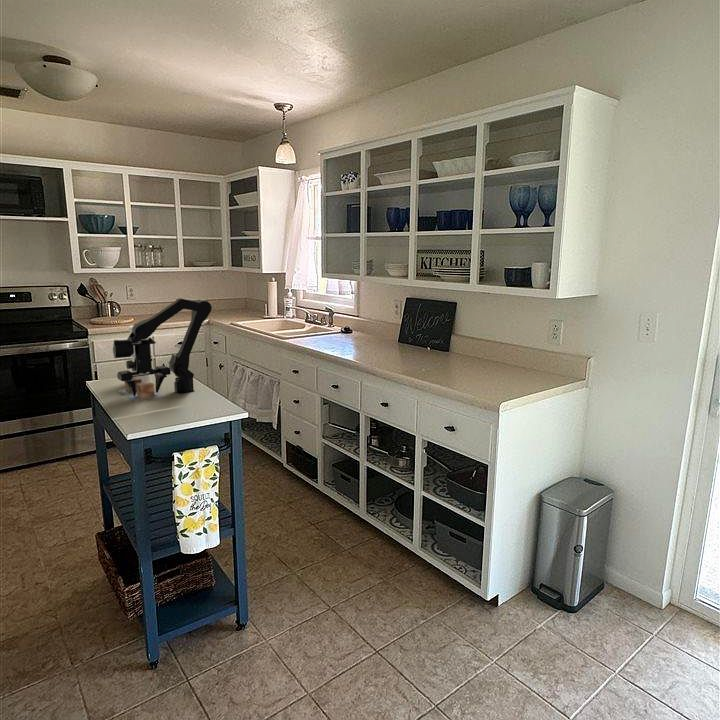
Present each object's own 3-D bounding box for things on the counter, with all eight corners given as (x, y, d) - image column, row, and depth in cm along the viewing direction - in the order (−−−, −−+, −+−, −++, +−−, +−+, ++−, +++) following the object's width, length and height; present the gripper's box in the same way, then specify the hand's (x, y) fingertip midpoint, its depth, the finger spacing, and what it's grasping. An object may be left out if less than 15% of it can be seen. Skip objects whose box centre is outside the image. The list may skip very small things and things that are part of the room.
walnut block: (137, 388, 218) (137, 376, 217) (142, 390, 214) (141, 379, 213) (125, 390, 215) (124, 378, 213) (129, 393, 211) (128, 380, 210)
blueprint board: (147, 387, 222) (147, 385, 222) (165, 397, 208) (164, 395, 208) (117, 392, 214) (117, 390, 214) (133, 402, 200) (133, 400, 200)
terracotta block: (150, 393, 210) (149, 381, 209) (154, 396, 207) (153, 384, 206) (137, 395, 207) (136, 383, 206) (141, 398, 203) (140, 386, 202)
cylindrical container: (143, 380, 234) (139, 324, 229) (154, 382, 231) (151, 325, 226) (129, 383, 228) (125, 326, 222) (141, 385, 224) (137, 327, 219)
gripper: (159, 349, 215) (161, 386, 219) (111, 355, 203) (114, 393, 207) (169, 354, 207) (172, 392, 211) (120, 359, 195) (123, 400, 198)
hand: (145, 394), depth 207 cm, fingers open, 8 cm apart
